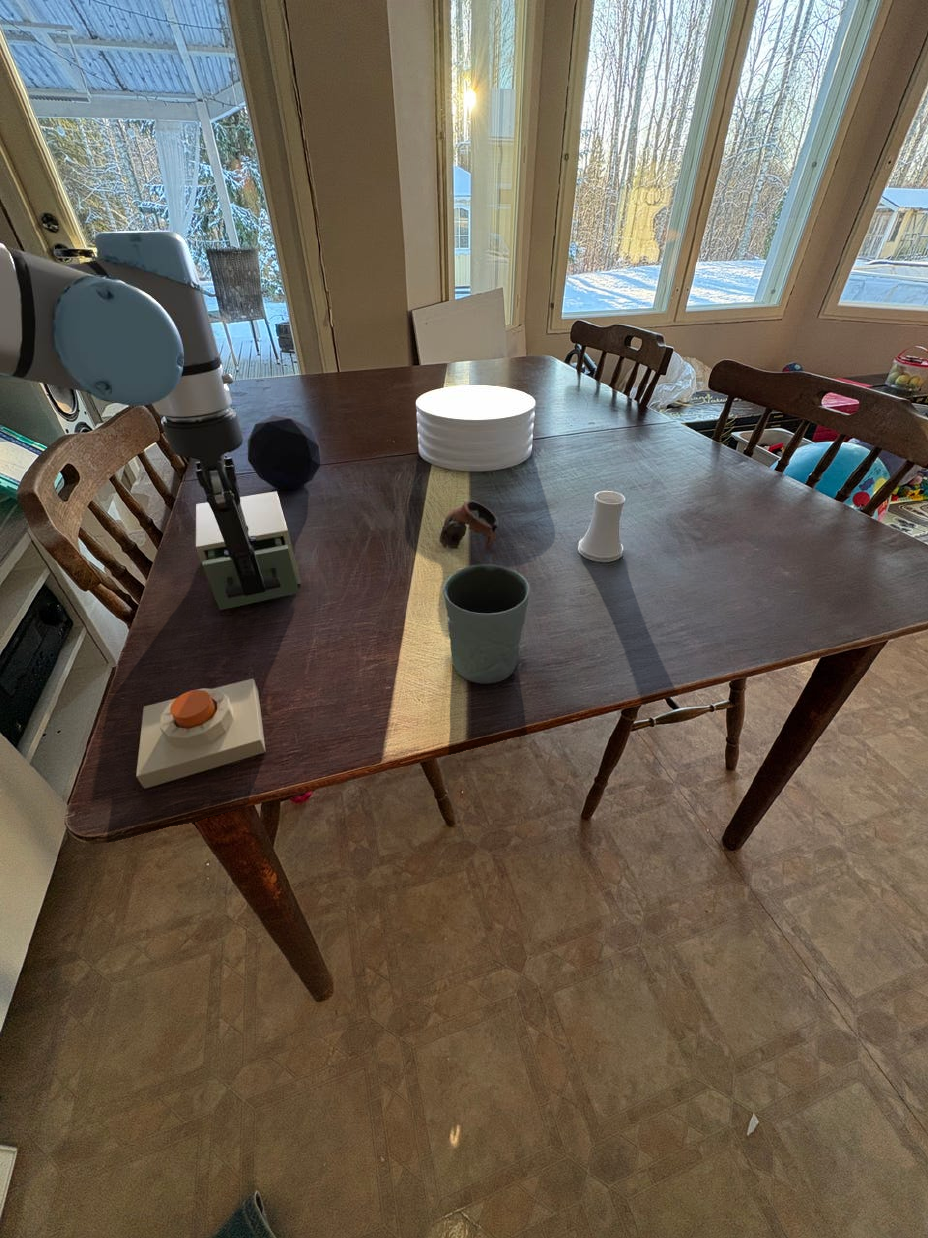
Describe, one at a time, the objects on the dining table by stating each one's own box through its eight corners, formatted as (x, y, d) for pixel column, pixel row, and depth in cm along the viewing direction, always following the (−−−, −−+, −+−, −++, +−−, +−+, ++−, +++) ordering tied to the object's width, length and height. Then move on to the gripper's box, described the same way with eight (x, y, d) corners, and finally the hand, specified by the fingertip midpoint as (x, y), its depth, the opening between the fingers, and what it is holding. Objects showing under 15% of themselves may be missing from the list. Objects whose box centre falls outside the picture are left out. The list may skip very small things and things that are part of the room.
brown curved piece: (450, 527, 97) (473, 492, 92) (487, 559, 95) (512, 526, 91) (416, 540, 87) (440, 501, 82) (457, 576, 85) (483, 539, 81)
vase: (607, 536, 93) (617, 484, 86) (630, 557, 87) (643, 503, 81) (570, 543, 91) (577, 491, 84) (591, 565, 85) (601, 510, 79)
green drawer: (303, 608, 75) (292, 563, 70) (220, 627, 71) (202, 581, 67) (288, 550, 88) (277, 508, 83) (217, 564, 84) (201, 521, 79)
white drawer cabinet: (300, 583, 81) (287, 530, 75) (216, 601, 78) (195, 546, 72) (289, 540, 92) (276, 490, 86) (214, 555, 88) (195, 503, 82)
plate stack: (434, 427, 140) (432, 382, 133) (536, 433, 135) (540, 387, 128) (404, 466, 118) (400, 415, 111) (525, 475, 114) (529, 423, 107)
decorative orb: (239, 452, 111) (232, 405, 98) (306, 439, 117) (308, 394, 104) (261, 508, 109) (257, 469, 96) (329, 492, 115) (334, 453, 102)
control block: (144, 789, 52) (128, 765, 50) (151, 719, 60) (137, 695, 57) (265, 752, 56) (256, 728, 53) (258, 690, 63) (249, 667, 61)
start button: (175, 733, 54) (169, 722, 52) (176, 706, 56) (170, 695, 55) (216, 722, 55) (211, 711, 54) (215, 696, 58) (210, 685, 56)
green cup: (514, 634, 71) (520, 561, 64) (530, 686, 64) (539, 610, 56) (442, 639, 70) (439, 566, 63) (449, 693, 63) (447, 617, 55)
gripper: (237, 425, 51) (289, 611, 66) (231, 392, 60) (278, 561, 75) (154, 435, 49) (227, 625, 64) (162, 399, 58) (224, 572, 73)
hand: (255, 590), depth 69 cm, fingers closed
